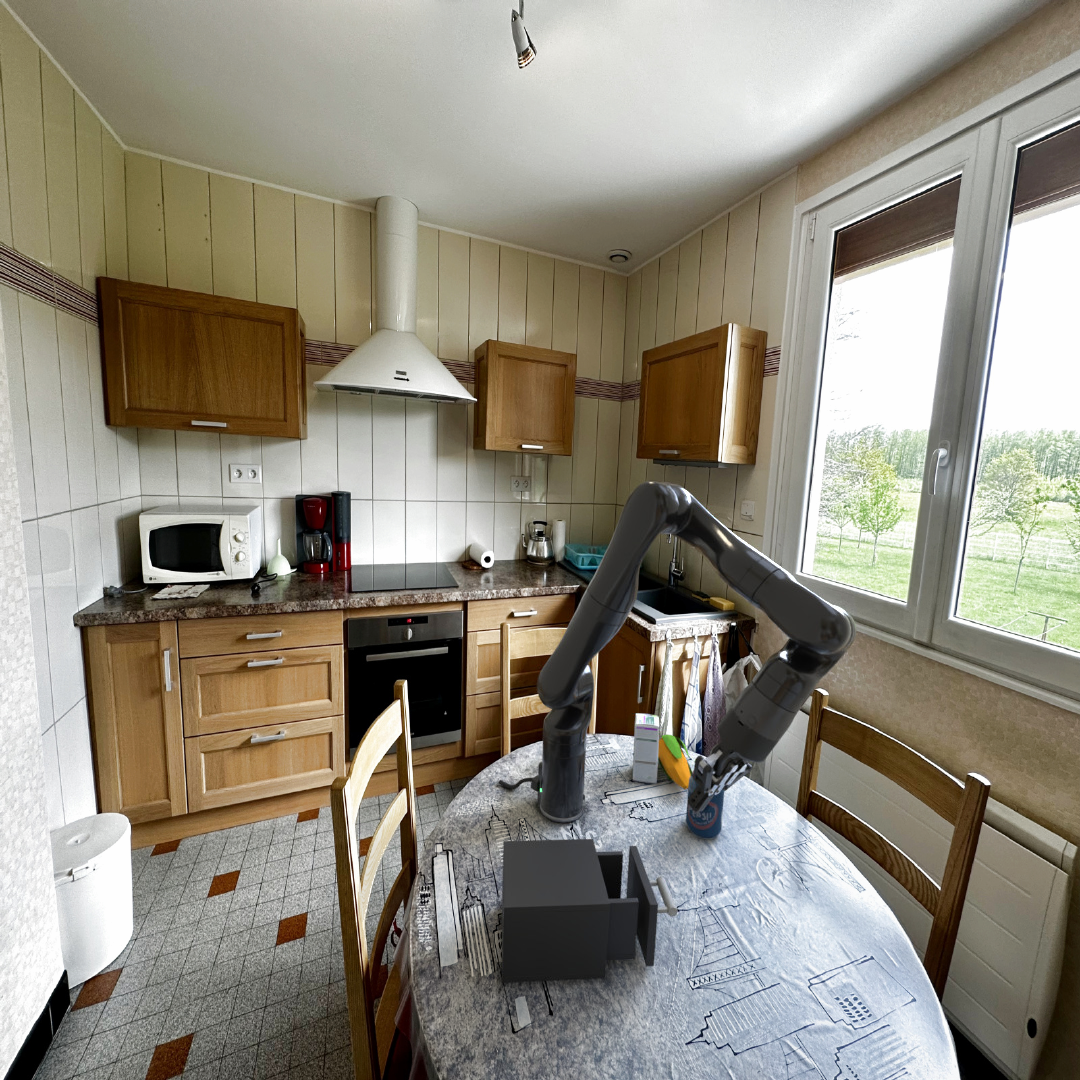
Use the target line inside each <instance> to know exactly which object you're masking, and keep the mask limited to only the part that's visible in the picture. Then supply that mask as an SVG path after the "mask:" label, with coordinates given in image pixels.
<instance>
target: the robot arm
mask: <svg viewBox="0 0 1080 1080" xmlns="http://www.w3.org/2000/svg"><path fill="white" fill-rule="evenodd" d="M659 535H671V536H673V537H676V538H677V539H679V540H681V541H682V542H684V543H686V544H688V545H689V546H691V547H692V548H694V549H695V550H696V551H697V552H698V553H699V554H700V555H701V556H703V558H704V559H705V560H706V561H707V562H708V564H709V565H710V566H711V568H712V569H713V570H714V572H715V573H716V574H717V576H718V577H719V578H720V579H721V580H722V581H723V582H724V583H725V584H726V585H727V586H728V587H729V588H730V589H732V590H733V592H735V593H736V594H738V595H739V596H740V597H742V598H743V599H744V600H745V601H746V602H748V603H749V604H750V605H752V606H753V607H754V608H756V609H757V610H759V611H760V612H762V613H763V614H764V615H765V616H766V617H767V618H768V619H769V620H770V621H771V622H772V623H773V624H774V625H775V626H776V628H778V629H779V630H780V631H781V632H782V633H783V634H784V635H785V636H787V637H788V639H787V640H786V641H785V644H784V645H783V646H782V647H781V648H780V649H779V650H778V651H776V652H774V653H773V654H771V655H770V656H769V657H768V659H766V661H764V663H763V664H762V666H761V667H760V668H759V670H758V671H757V673H756V674H755V676H754V677H753V678H752V680H750V683H748V685H747V686H745V688H743V690H742V691H741V692H740V693H739V695H738V696H737V698H736V700H735V701H734V702H733V703H732V705H731V706H730V708H729V709H728V710H727V712H726V713H725V714H724V716H723V717H722V719H721V721H720V722H719V723H718V725H717V732H718V734H719V737H720V741H719V742H717V744H715V745H713V747H712V749H711V751H710V752H709V753H710V754H709V756H707V757H705V758H704V757H703V755H702V754H699V755H697V756H696V757H695V760H694V767H693V770H694V773H693V772H692V773H693V780H694V781H695V782H696V783H697V784H698V785H697V787H696V788H695V789H694V791H693V792H692V794H691V795H690V796H689V798H688V797H687V800H686V803H687V802H688V804H689V805H690V807H691V808H692V809H693V810H694V811H695V812H699V811H703V810H704V808H705V807H706V806H707V804H708V803H709V802H710V800H711V799H712V797H713V796H714V794H715V795H717V794H719V793H720V791H721V790H723V791H724V792H727V791H728V790H729V789H730V788H731V787H732V786H733V785H735V784H736V783H737V782H738V781H740V780H741V779H742V778H743V777H745V776H746V775H747V774H749V773H750V772H751V771H752V769H753V766H752V765H751V764H750V762H752V763H757V764H760V763H763V762H764V761H766V759H767V758H768V757H769V755H770V754H771V752H772V751H773V750H774V748H775V747H776V746H777V744H778V743H779V742H780V741H781V739H782V738H783V736H784V735H785V734H786V733H787V731H788V730H789V728H790V727H791V725H792V723H793V721H794V719H795V717H796V716H797V714H798V713H799V711H800V710H801V709H802V708H803V706H804V705H805V704H806V702H807V701H808V699H809V698H810V697H811V695H812V694H813V692H814V691H815V689H816V687H817V686H818V684H819V683H820V681H822V679H823V678H824V677H825V676H826V675H827V674H828V673H829V672H830V671H831V670H832V669H833V668H834V667H835V666H836V665H837V664H838V662H839V661H840V660H841V659H842V658H843V657H844V655H845V654H846V653H847V652H848V650H849V649H850V648H851V647H852V645H853V644H854V642H855V639H856V636H857V625H856V622H855V620H854V617H853V616H852V615H851V614H850V613H849V612H848V610H845V609H844V608H842V607H841V606H838V605H835V604H831V603H830V602H829V601H826V600H825V599H823V598H822V597H820V596H818V595H817V594H816V593H815V592H812V591H811V590H810V589H808V588H807V587H806V586H803V584H801V583H799V582H798V581H797V579H796V578H795V577H794V576H793V575H792V574H791V573H790V572H789V571H787V570H786V569H785V568H783V567H782V566H780V565H779V564H777V563H776V562H775V561H773V560H772V559H770V558H769V557H768V556H766V555H765V554H763V553H762V552H760V551H759V550H757V549H756V548H755V547H753V546H752V545H750V544H748V542H746V541H745V540H743V539H742V538H741V537H739V536H738V535H736V534H735V533H734V532H732V531H731V530H730V529H729V528H727V527H726V526H725V525H724V524H723V523H721V521H719V520H718V519H717V518H716V517H714V515H712V514H711V513H710V511H708V509H706V507H704V506H703V505H702V504H701V503H700V502H699V501H698V500H697V499H696V498H695V496H693V495H692V494H691V493H690V492H689V491H688V490H687V489H686V488H685V487H683V486H682V485H680V484H677V483H673V482H666V481H660V480H646V481H643V482H640V484H637V486H636V487H634V488H633V490H632V491H631V492H630V494H629V495H628V497H627V499H626V502H625V503H624V506H623V508H622V512H621V514H620V516H619V519H618V522H617V524H616V526H615V529H614V532H613V535H612V537H611V540H610V542H609V545H608V547H607V548H606V550H605V552H604V555H603V557H602V558H601V561H600V562H599V565H598V567H597V569H596V571H595V573H594V575H593V576H592V578H591V580H590V582H589V583H588V585H587V588H586V589H585V591H584V593H583V595H582V597H581V599H580V601H579V603H578V606H577V608H576V610H575V612H574V614H573V615H572V618H571V619H570V621H569V623H568V625H567V628H566V629H565V632H564V634H563V636H562V637H561V639H560V641H559V643H558V644H557V646H556V647H555V649H554V651H553V652H552V653H551V655H550V656H549V658H548V660H547V661H546V663H545V664H544V666H543V667H542V668H541V670H540V672H539V674H538V677H537V681H536V687H537V688H536V691H537V695H538V698H539V700H540V702H541V703H542V704H543V705H544V706H545V707H546V708H548V709H550V710H549V712H548V713H547V714H546V716H545V718H544V720H543V724H542V725H543V726H542V727H543V728H542V754H541V761H540V762H539V763H538V766H537V767H538V768H537V775H535V776H532V777H531V776H530V777H524V778H521V779H520V780H518V781H517V782H516V783H515V784H509V783H507V782H505V781H504V780H502V779H499V781H498V784H499V785H501V786H503V787H504V788H506V789H509V790H516V789H518V788H519V787H520V786H521V785H522V784H524V783H530V789H531V790H533V791H535V792H536V793H537V795H536V796H537V797H536V805H537V806H538V807H539V811H540V812H541V814H542V815H543V816H544V817H545V818H546V819H548V820H550V821H552V822H557V823H571V822H574V821H577V820H578V819H579V818H580V817H582V815H583V814H584V802H586V795H585V775H586V758H587V757H586V752H587V734H588V732H587V731H588V728H589V726H590V723H591V720H592V715H593V714H592V713H593V705H594V704H593V703H594V693H595V678H594V674H593V671H592V668H591V666H590V663H591V661H592V660H593V659H594V658H595V657H596V656H597V655H598V654H599V653H600V651H602V650H603V649H604V648H605V647H606V645H607V644H608V643H610V641H611V640H613V638H614V637H615V636H616V635H617V634H618V633H619V631H620V629H621V628H622V627H623V625H624V623H625V622H626V620H627V618H628V617H629V615H630V613H631V611H632V609H633V608H634V605H635V604H636V601H637V598H638V594H639V593H638V592H639V575H640V568H641V565H642V562H643V561H644V558H645V556H646V555H647V553H648V551H649V550H650V548H651V546H652V545H653V542H655V540H656V539H657V537H658V536H659Z"/></svg>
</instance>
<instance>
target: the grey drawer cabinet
mask: <svg viewBox="0 0 1080 1080" xmlns="http://www.w3.org/2000/svg"><path fill="white" fill-rule="evenodd" d="M502 847H503V848H502V849H503V850H502V852H503V853H502V884H501V885H502V887H501V888H502V889H501V983H502V984H508V983H509V984H510V983H530V982H531V983H533V982H551V981H552V982H553V981H574V980H593V979H595V980H596V979H606V977H607V961H606V960H607V943H608V925H609V908H610V903H609V899H608V895H607V891H606V887H605V883H604V879H603V876H602V872H601V868H600V864H599V860H598V856H597V852H598V851H597V848H596V843H595V841H594V838H575V839H572V838H571V839H537V840H536V839H535V840H504V841H503V845H502Z"/></svg>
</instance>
